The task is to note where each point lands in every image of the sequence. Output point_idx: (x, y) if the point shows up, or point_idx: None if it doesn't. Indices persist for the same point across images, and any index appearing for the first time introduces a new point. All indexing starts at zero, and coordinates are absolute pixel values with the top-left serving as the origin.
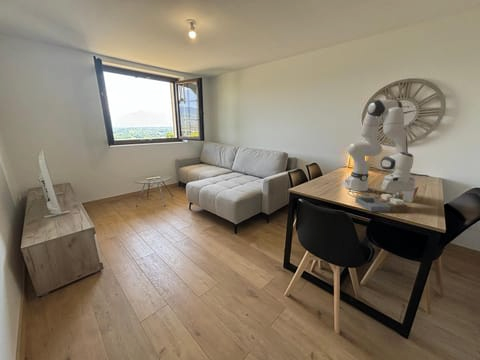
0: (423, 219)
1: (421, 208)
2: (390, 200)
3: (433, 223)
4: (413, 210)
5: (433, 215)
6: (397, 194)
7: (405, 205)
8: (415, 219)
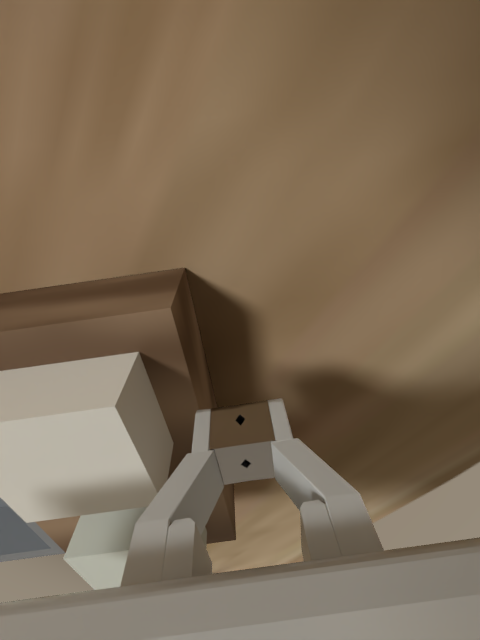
0: (260, 540)
1: (447, 399)
2: (82, 524)
3: (275, 560)
4: (319, 447)
5: (388, 492)
6: (272, 464)
7: (215, 540)
8: (209, 546)
